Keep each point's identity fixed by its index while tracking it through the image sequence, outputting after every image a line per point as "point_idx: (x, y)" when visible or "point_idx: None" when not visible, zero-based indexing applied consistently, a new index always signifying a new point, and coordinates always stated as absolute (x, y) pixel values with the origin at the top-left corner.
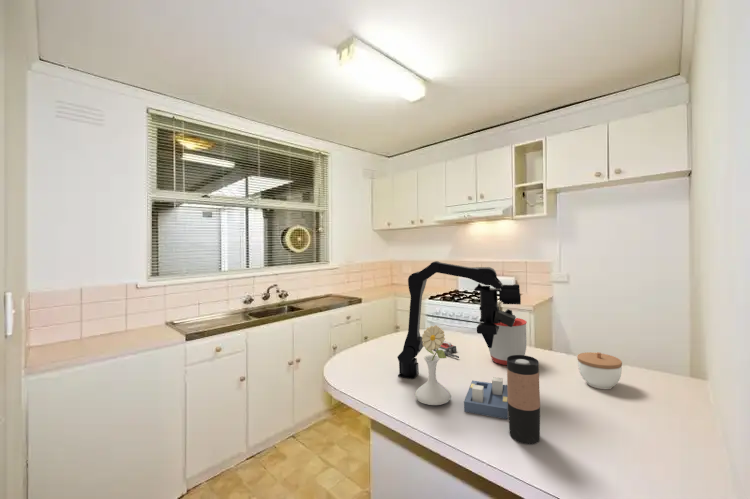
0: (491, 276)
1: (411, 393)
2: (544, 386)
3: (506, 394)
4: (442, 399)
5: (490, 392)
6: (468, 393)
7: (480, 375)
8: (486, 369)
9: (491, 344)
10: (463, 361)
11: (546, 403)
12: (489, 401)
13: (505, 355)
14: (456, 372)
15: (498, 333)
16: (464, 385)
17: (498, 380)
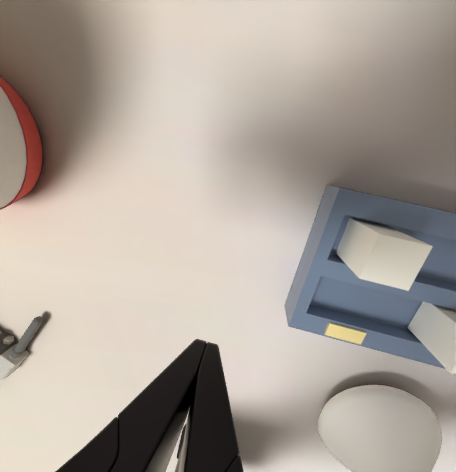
0: None
1: (323, 450)
2: (230, 2)
3: (437, 220)
4: (436, 423)
5: None
6: (411, 355)
7: (165, 264)
8: (104, 236)
9: (222, 381)
10: (57, 301)
11: (416, 33)
12: (447, 284)
13: (2, 153)
14: (157, 333)
15: None
16: (257, 324)
17: (413, 261)
